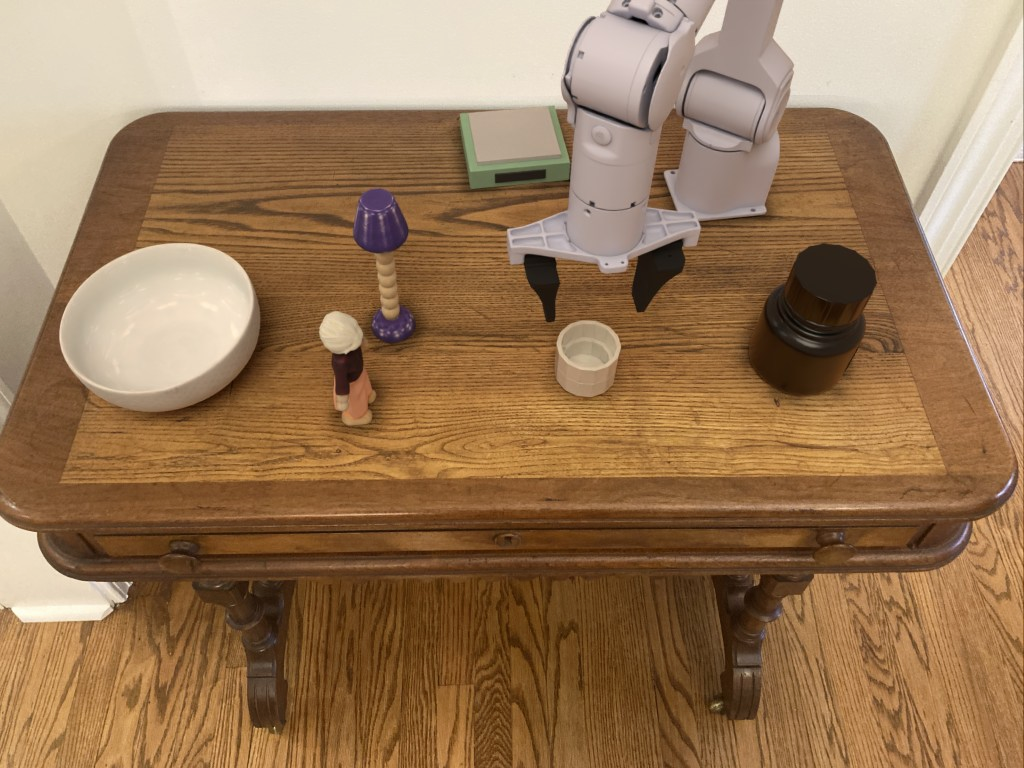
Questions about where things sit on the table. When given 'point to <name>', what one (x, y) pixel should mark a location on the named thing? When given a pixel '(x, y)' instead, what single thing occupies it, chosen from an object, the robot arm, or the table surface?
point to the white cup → (587, 358)
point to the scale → (514, 147)
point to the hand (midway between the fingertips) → (593, 308)
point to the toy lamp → (384, 259)
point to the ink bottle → (813, 320)
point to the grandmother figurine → (348, 367)
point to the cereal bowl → (161, 327)
